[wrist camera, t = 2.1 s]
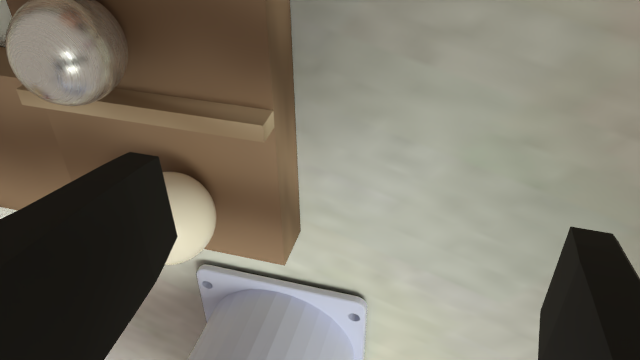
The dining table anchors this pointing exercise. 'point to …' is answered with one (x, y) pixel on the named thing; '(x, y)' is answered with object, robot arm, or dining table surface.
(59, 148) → the hole plate
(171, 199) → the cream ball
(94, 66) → the steel ball
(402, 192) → the dining table surface
